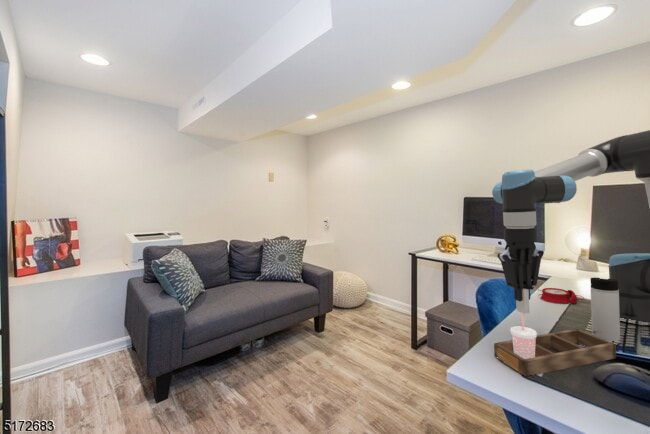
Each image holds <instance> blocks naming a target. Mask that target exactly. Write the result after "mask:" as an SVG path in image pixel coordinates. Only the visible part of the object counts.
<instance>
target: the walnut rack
mask: <svg viewBox="0 0 650 434" xmlns="http://www.w3.org/2000/svg"><path fill="white" fill-rule="evenodd" d="M581 344H583V345H585V346H588V347H585V346H583V345H582V346H581ZM550 349H553V350H555V351H557V352H553V351H551V350H550ZM493 351H494V352H493V353H494V357H495V356H496V357H498V358H497V359H498V360H499V359H500V360H499V361H501V360H502V361H503V362H502V361H501V362H502V363H504V362H505V363H506V364H505V363H504V364H505V365H507V364H508V365H509V366H508V365H507V366H508V367H510V366H511V367H512V368H511V367H510V368H511V369H513V368H514V369H515V370H514V369H513V370H514V371H516V372H517V371H518V372H517V373H519V374H520V373H521V374H520V375H522V374H523V375H524V376H523V375H522V376H523V377H525V376H527V377H530V376H529V375H532V376H536V375H535V374H537V375H541V374H546V373H550V372H556V371H560V370H566V369H570V368H576V367H580V366H584V365H590V364H594V363H595V364H596V363H599V362H604V361H609V360H615V359H617V346H616V344H614V343H612V342H609V341H607V340H604V339H602V338H599V337H597V336H594V335H592V333H588V332H586V331H584V330H581V329H579V328H573V329H566V330H562V331H556V332H550V333H545V334H537V336H536V342H535V357H533V358H528V359H524V358H522V357H520V356H518V355H517V354H515V353H514V349H513V340H512V339H510V340H506V341H505V340H504V341H499V342H494V343H493ZM496 357H495V358H496Z"/></svg>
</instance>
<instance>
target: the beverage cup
mask: <svg viewBox="0 0 650 434" xmlns="http://www.w3.org/2000/svg"><path fill="white" fill-rule="evenodd" d="M524 317H525V314H524V313H522V312H521V326H520V325H516V326H515V325H514V326H511V327H510V330H509V331H510V334H511V340H513V349H514V353H515V354H517V355H518V356H520V357H522V358H524V359H528V358H533V357H535V342H536V336H538V332H537V331H536V330H535V329H533V328H530V327H528V326H525V318H524Z"/></svg>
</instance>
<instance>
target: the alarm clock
mask: <svg viewBox="0 0 650 434" xmlns="http://www.w3.org/2000/svg"><path fill="white" fill-rule="evenodd" d="M537 291H540V292H542V293H541V294H540V293H539V295H538V296H540V298H539V299H541V300H543V301H545V302H547V303H553V304H560V305H561V304H563V305H565V304H571V305H576V304H577V302H578V301H579V300H581V301H582V300H584V299H585V297H584V296H582V295H577V294H575V292H574V291H573V290H572V289H567V290H566V289H562V288H557V287H556V288H555V287H546V288H542V289H539V288H538V289H537ZM578 297H581V298H578Z"/></svg>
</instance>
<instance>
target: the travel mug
mask: <svg viewBox="0 0 650 434" xmlns="http://www.w3.org/2000/svg"><path fill="white" fill-rule="evenodd" d="M618 291H619V288H618V280H615V279H609V278H601V277H590V313H591V318H590V319H591V335H594V336H597V337H599V338H602V339H604V340H607V341H618V340H619V339H620V340H621V322H620V314H619V292H618Z"/></svg>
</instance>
